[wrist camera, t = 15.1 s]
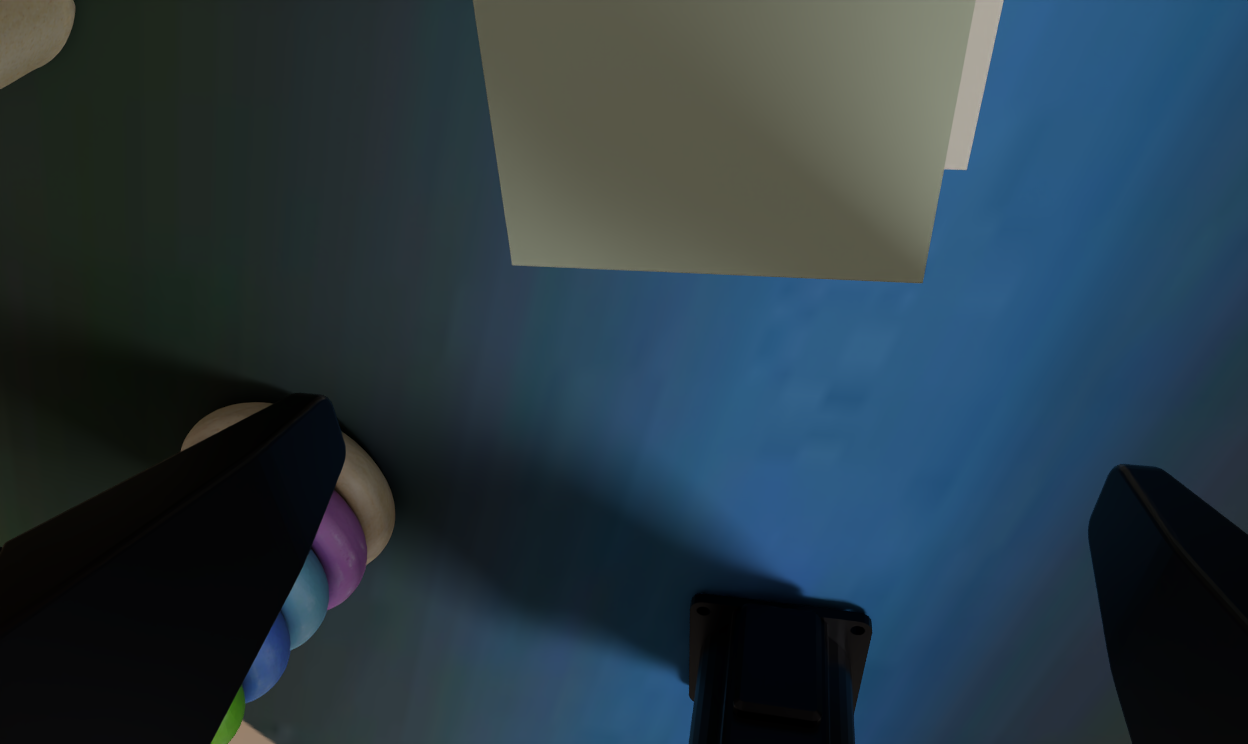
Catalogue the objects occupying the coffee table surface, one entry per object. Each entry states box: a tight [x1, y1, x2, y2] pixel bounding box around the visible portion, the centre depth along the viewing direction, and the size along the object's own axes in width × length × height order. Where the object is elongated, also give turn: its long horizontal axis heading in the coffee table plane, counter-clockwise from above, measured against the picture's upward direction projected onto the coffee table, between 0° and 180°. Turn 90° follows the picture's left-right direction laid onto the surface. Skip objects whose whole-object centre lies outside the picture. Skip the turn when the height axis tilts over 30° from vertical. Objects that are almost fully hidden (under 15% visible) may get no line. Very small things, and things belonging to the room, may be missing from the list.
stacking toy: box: [181, 402, 395, 744], centre depth 23 cm, size 8×8×19 cm
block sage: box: [473, 0, 976, 283], centre depth 10 cm, size 5×5×5 cm
